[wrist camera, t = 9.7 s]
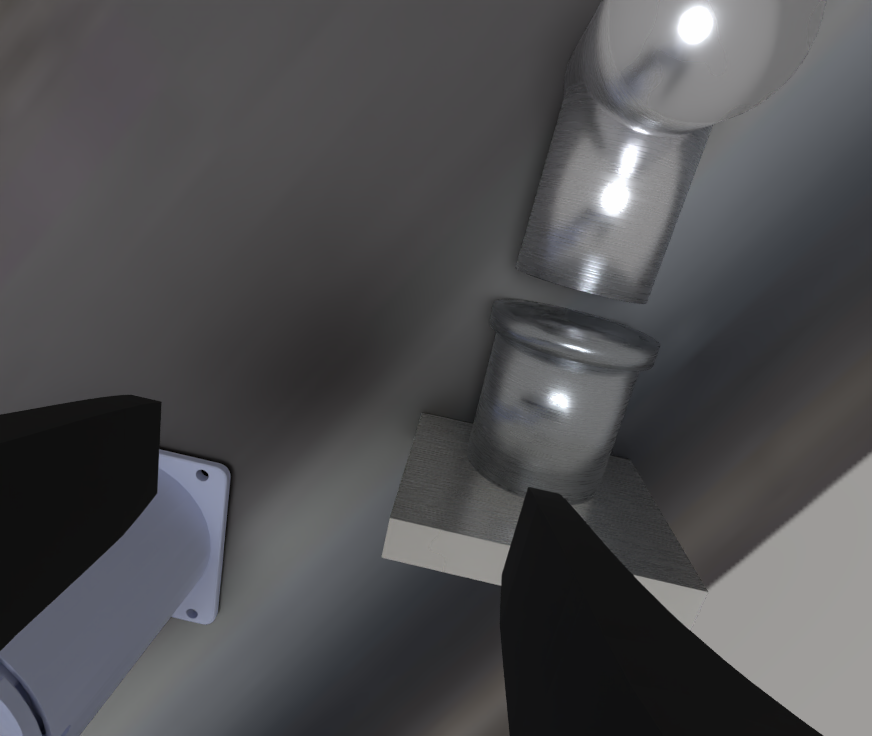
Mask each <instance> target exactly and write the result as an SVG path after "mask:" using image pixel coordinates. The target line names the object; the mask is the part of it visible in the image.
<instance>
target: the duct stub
mask: <svg viewBox="0 0 872 736" xmlns="http://www.w3.org/2000/svg"><path fill="white" fill-rule="evenodd" d="M489 325H490V326H491V328H493V329H494V330H495V331H496V336H495V340H494V344H493V348H492V352H491V355H490V359H489V363H488V367H487V371H486V375H485V379H484V383H483V387H482V391H481V395H480V399H479V403H478V407H477V411H476V415H475V419H474V423H473V424H471V423H467V422H462V421H458V420H454V419H449V418H445V417H441V416H436V415H432V414H427V413H423V412H422V414H421V417H420V421H419V424H418V427H417V431H416V434H415V437H414V440H413V444H412V447H411V450H410V453H409V457H408V460H407V463H406V467H405V470H404V473H403V476H402V480H401V483H400V486H399V490H398V493H397V496H396V499H395V503H394V506H393V509H392V513H391V516H390V520H389V524H388V529H387V534H386V539H385V544H384V548H383V553H382V558H386V559H390V560H394V561H399V562H403V563H407V564H411V565H416V566H420V567H424V568H428V569H433V570H437V571H441V572H445V573H450V574H454V575H458V576H462V577H467V578H471V579H475V580H479V581H484V582H488V583H492V584H496V585H501V579H502V572H503V568H504V565H505V562H506V558H507V555H508V552H509V548H510V545H511V542H512V538H513V535H514V532H515V528H516V525H517V522H518V518H519V515H520V512H521V508H522V505H523V502H524V498H525V495H526V492H527V488H528V487H533V488H537V489H541V490H546V491H550V492H554V493H559V494H561V495H562V496H563V497H564V498H565V499H566V500H567V501H568V502H569V504H570V505H571V506H572V507H573V508H574V509H575V510H576V511H577V513H578V514H579V515H580V516H581V517H582V518H583V520H584V521H585V522H586V523H587V524H588V525H589V527H590V528H591V529H592V530H593V531H594V532H595V533H596V535H597V536H598V537H599V538H600V539H601V540H602V541H603V543H604V544H605V545H606V546H607V547H608V548H609V549H610V550H611V552H612V553H613V554H614V555H615V556H616V557H617V558H618V559H619V560H620V562H621V563H622V564H623V565H624V566H625V567H626V568H627V569H628V570H629V571H630V572H631V573H632V574H633V575H634V576H635V578H636V579H637V580H638V581H639V582H640V583H641V584H642V585H643V586H644V587H645V588H646V589H647V590H648V591H649V592H650V593H651V594H652V595H653V596H654V597H655V598H656V599H657V600H658V601H659V602H660V603H661V604H662V605H663V606H664V607H665V608H666V609H667V610H668V611H669V612H670V613H672V614H673V615H674V616H675V617H676V618H677V619H678V620H679V621H680V622H681V623H682V624H683V625H684V626H686V627H687V628H688V629H689V630H691V629H692V627H693V625H694V622H695V620H696V618H697V616H698V614H699V611H700V610H701V607H702V605H703V603H704V601H705V599H706V596H707V594H708V591H707V589H706V587H705V586H704V584H703V582H702V581H701V579H700V577H699V576H698V574H697V572H696V571H695V569H694V567H693V565H692V564H691V562H690V560H689V559H688V557H687V555H686V554H685V552H684V550H683V549H682V547H681V545H680V543H679V542H678V540H677V538H676V537H675V535H674V533H673V532H672V530H671V528H670V527H669V525H668V523H667V522H666V520H665V518H664V516H663V515H662V513H661V511H660V510H659V508H658V506H657V505H656V503H655V501H654V500H653V498H652V496H651V495H650V493H649V491H648V489H647V488H646V486H645V484H644V483H643V481H642V479H641V478H640V476H639V474H638V473H637V471H636V469H635V467H634V466H633V464H632V462H631V461H630V460H629V459H624V458H620V457H616V456H611V455H610V454H611V451H612V448H613V445H614V442H615V440H616V437H617V434H618V431H619V428H620V425H621V422H622V420H623V417H624V414H625V411H626V408H627V405H628V402H629V400H630V397H631V394H632V391H633V388H634V385H635V382H636V380H637V377H638V374H639V371H643V370H648V369H650V368H652V367H653V365H654V362H655V359H656V356H657V354H658V351H659V348H660V344H659V342H657V341H656V340H655V339H653V338H652V337H650V336H648V335H647V334H644V333H642V332H640V331H638V330H636V329H633V328H631V327H628V326H625V325H623V324H620V323H617V322H614V321H611V320H608V319H605V318H602V317H598V316H595V315H591V314H588V313H584V312H580V311H576V310H572V309H567V308H563V307H558V306H554V305H549V304H544V303H538V302H532V301H524V300H513V299H502V300H497V301H495V302H494V304H493V308H492V312H491V316H490V320H489Z"/></svg>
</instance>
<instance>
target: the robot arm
mask: <svg viewBox="0 0 872 736" xmlns="http://www.w3.org/2000/svg"><path fill="white" fill-rule="evenodd" d="M160 421H161V402H160V401H155V400H151V399H147V398H142V397H138V396H134V395H119V396H109V397H101V398H94V399H88V400H82V401H75V402H70V403H64V404H58V405H53V406H47V407H41V408H36V409H30V410H25V411H19V412H13V413H8V414H2V415H0V736H79V735H80V734H81V733H82V732H83V730H84V729H85V728H86V726H87V725H88V724H89V722H90V721H91V720H92V719H93V717H94V716H95V715H96V713H97V712H98V711H99V710H100V708H101V707H102V706H103V704H104V703H105V702H106V700H107V699H108V698H109V697H110V695H111V694H112V693H113V691H114V690H115V689H116V687H117V686H118V685H119V684H120V682H121V681H122V680H123V678H124V677H125V676H126V674H127V673H128V672H129V671H130V669H131V668H132V667H133V665H134V664H135V663H136V662H137V660H138V659H139V658H140V656H141V655H142V654H143V652H144V651H145V650H146V649H147V647H148V646H149V645H150V643H151V642H152V641H153V639H154V638H155V637H156V636H157V634H158V633H159V632H160V630H161V629H162V628H163V626H164V625H165V624H166V623H167V621H168V620H169V619H170V617H174V618H178V619H183V620H187V621H191V622H195V623H199V624H206V625H207V624H211V623H212V622H213V621H214V619H215V618H216V616H217V614H218V606H219V595H220V585H221V574H222V563H223V553H224V542H225V531H226V521H227V510H228V499H229V489H230V478H231V476H230V471H229V470H228V468H227V467H226V466H225V465H223V464H220V463H217V462H212V461H208V460H204V459H199V458H195V457H191V456H187V455H182V454H178V453H174V452H169V451H165V450H161V449H159V444H160ZM201 470H205V471H206V472H207V473H208V476H205V475H203V473H202V472H201ZM193 609H194V610H196V611H194V610H193ZM500 632H501V644H502V656H503V667H504V678H505V689H506V700H507V711H508V721H509V732H510V736H823V735H822V734H820V733H819V732H817V731H816V730H815V729H813V728H812V727H810V726H809V725H807V724H806V723H805V722H803V721H802V720H801V719H799V718H798V717H797V716H795V715H794V714H793V713H791V712H790V711H789V710H788V709H786V708H785V707H784V706H782V705H781V704H780V703H778V702H777V701H775V700H774V699H773V698H772V697H770V696H769V695H768V694H766V693H765V692H764V691H762V690H761V689H760V688H759V687H757V686H756V685H754V684H753V683H752V682H751V681H749V680H748V679H747V678H746V677H744V676H743V675H742V674H741V673H739V672H738V671H737V670H735V668H733V667H732V666H731V665H730V664H728V663H727V662H726V661H725V660H723V659H722V658H721V657H720V656H719V655H718V654H716V653H715V652H714V651H713V650H712V649H711V648H710V647H709V646H707V645H706V644H705V643H704V642H703V641H702V640H701V639H699V638H698V637H697V636H696V635H695V634H694V633H692V632H691V631H690V630H689V629H688V628H687V627H686V626H684V625H683V624H682V623H681V622H680V621H679V620H678V619H677V618H676V617H675V616H674V615H673V614H672V613H670V612H669V611H668V610H667V609H666V608H665V607H664V606H663V605H662V604H661V603H660V602H659V601H658V600H657V599H656V598H655V597H654V596H653V595H652V594H651V593H650V592H649V591H648V590H647V589H646V588H645V587H644V586H643V585H642V584H641V583H640V582H639V581H638V580H637V579H636V578H635V576H634V575H633V574H632V573H631V572H630V571H629V570H628V569H627V568H626V567H625V566H624V565H623V564H622V563H621V562H620V560H619V559H618V558H617V557H616V556H615V555H614V554H613V553H612V552H611V550H610V549H609V548H608V547H607V546H606V545H605V544H604V543H603V541H602V540H601V539H600V538H599V537H598V536H597V535H596V533H595V532H594V531H593V530H592V529H591V528H590V527H589V525H588V524H587V523H586V522H585V521H584V520H583V518H582V517H581V516H580V515H579V514H578V513H577V511H576V510H575V509H574V508H573V507H572V506H571V505H570V504H569V502H568V501H567V500H566V499H565V498H564V497H563V496H562V495H561V494H559V493H554V492H550V491H546V490H541V489H537V488H533V487H528V488H527V492H526V495H525V498H524V502H523V505H522V508H521V512H520V515H519V518H518V522H517V525H516V528H515V532H514V535H513V538H512V542H511V545H510V548H509V552H508V555H507V558H506V562H505V565H504V568H503V572H502V579H501V603H500Z"/></svg>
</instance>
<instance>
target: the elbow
mask: <svg viewBox="0 0 872 736" xmlns="http://www.w3.org/2000/svg"><path fill="white" fill-rule="evenodd" d="M825 6H826V0H602V1H601V3H600V5H599V7H598V8H597V10H596V12H595V14H594V15H593V17H592V19H591V21H590V22H589V24H588V26H587V28H586V30H585V31H584V33H583V35H582V37H581V38H580V40H579V42H578V44H577V45H576V47H575V49H574V51H573V53H572V55H571V57H570V60H569V63H568V65H567V69H566V73H565V78H564V99H563V103H562V106H561V110H560V113H559V117H558V120H557V124H556V127H555V131H554V134H553V138H552V141H551V145H550V148H549V152H548V155H547V159H546V162H545V166H544V169H543V173H542V176H541V180H540V183H539V187H538V190H537V194H536V197H535V201H534V204H533V208H532V211H531V215H530V218H529V222H528V225H527V229H526V232H525V236H524V239H523V243H522V246H521V250H520V253H519V257H518V261H517V264H516V269H518V270H520V271H522V272H524V273H526V274H529V275H531V276H534V277H537V278H540V279H543V280H546V281H549V282H552V283H555V284H558V285H562V286H565V287H569V288H572V289H576V290H579V291H583V292H587V293H591V294H594V295H599V296H603V297H607V298H611V299H616V300H621V301H626V302H631V303H638V304H646V303H647V301H648V298H649V295H650V293H651V290H652V287H653V285H654V282H655V279H656V276H657V274H658V271H659V268H660V266H661V263H662V260H663V258H664V255H665V252H666V250H667V247H668V244H669V242H670V239H671V236H672V234H673V231H674V228H675V225H676V223H677V220H678V217H679V215H680V212H681V209H682V207H683V204H684V201H685V199H686V196H687V193H688V191H689V188H690V185H691V183H692V180H693V177H694V174H695V172H696V169H697V166H698V164H699V161H700V158H701V156H702V153H703V150H704V148H705V145H706V142H707V140H708V137H709V134H710V132H711V129H712V126H713V125H714V124H716V123H719V122H721V121H724V120H727V119H729V118H732V117H735V116H737V115H740V114H743V113H745V112H747V111H749V110H750V109H752V108H754V107H756V106H758V105H759V104H761V103H762V102H764V101H765V100H767V99H768V98H769V97H771V96H772V95H773V94H774V93H775V92H776V91H778V90H779V89H780V88H781V87H782V86H783V85H784V84H785V83H786V82H787V81H788V80H789V79H790V78H791V76H792V75H793V74H794V73H795V71H796V70H797V69H798V67H799V66H800V65H801V63H802V62H803V60H804V59H805V57H806V55H807V54H808V52H809V50H810V49H811V46H812V44H813V42H814V40H815V38H816V36H817V33H818V31H819V28H820V25H821V22H822V19H823V15H824V10H825Z"/></svg>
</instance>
